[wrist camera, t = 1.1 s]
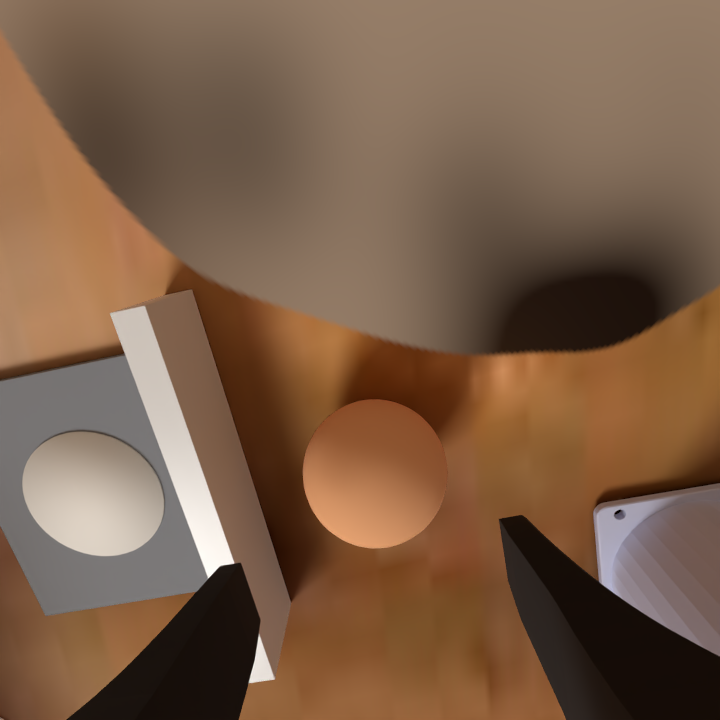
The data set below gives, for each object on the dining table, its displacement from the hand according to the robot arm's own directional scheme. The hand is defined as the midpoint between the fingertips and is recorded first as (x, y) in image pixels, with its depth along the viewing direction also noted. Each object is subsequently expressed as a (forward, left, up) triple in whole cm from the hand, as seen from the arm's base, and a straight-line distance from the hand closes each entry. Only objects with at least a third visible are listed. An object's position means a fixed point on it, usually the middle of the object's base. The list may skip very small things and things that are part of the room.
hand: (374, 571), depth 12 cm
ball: (0, 0, -5) cm, 5 cm away
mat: (+13, 0, -8) cm, 15 cm away
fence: (+6, 0, -8) cm, 10 cm away
